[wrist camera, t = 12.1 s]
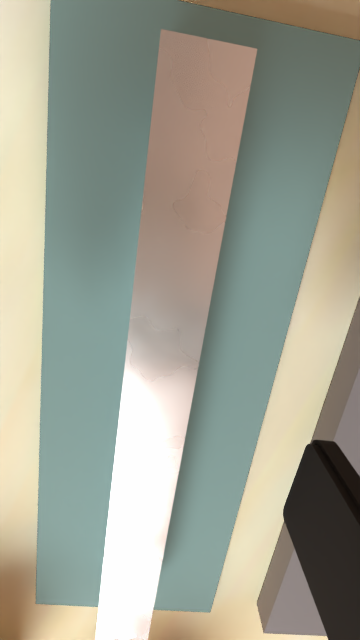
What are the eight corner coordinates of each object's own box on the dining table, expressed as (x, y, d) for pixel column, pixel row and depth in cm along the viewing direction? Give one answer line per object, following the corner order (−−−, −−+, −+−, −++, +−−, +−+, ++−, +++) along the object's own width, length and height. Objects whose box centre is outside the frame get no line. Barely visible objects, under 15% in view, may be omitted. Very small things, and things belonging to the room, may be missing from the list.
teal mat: (57, -16, 10) (51, -28, 10) (356, 50, 11) (366, 41, 11) (39, 592, 19) (35, 604, 19) (209, 601, 20) (210, 612, 20)
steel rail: (161, 74, 11) (160, 29, 8) (233, 88, 11) (257, 48, 8) (104, 583, 18) (93, 651, 16) (147, 585, 19) (145, 653, 16)
